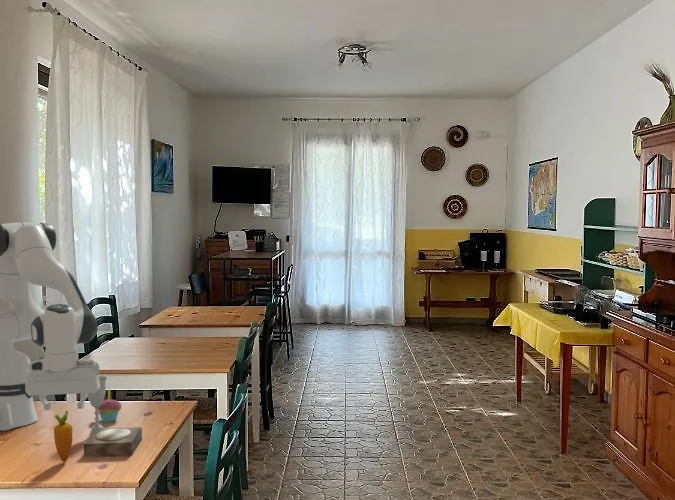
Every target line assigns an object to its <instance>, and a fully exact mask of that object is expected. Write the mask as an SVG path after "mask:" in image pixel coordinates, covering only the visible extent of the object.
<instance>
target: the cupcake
mask: <svg viewBox="0 0 675 500" xmlns="http://www.w3.org/2000/svg"><path fill="white" fill-rule="evenodd" d="M121 409H122V404H121V402H120V401H119V400H116V399H111V389H110V387H108V389H107V399H104V400H103V402H102V404H101V406H99V408H98V410H99V417H100V420H101V421H102V422H103V423H112V422H114V421H115V422H116V420H117V418H118V415H119V412H120V411H121Z"/></svg>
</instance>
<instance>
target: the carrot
mask: <svg viewBox="0 0 675 500" xmlns="http://www.w3.org/2000/svg"><path fill="white" fill-rule="evenodd" d="M68 415H69V411H68V410H65V412H64V414H63V416H62V417H60V416H59V414H55V415H54V418H55V419H56V421H57V422H58V423H57V425H55V427H53V437H54V444H55V448H56V453H57V454H58V456H59V458H60V461H61V462H63V463H66V462H67V461H68V458H69V457H70V453H71V451H72V446H73V445H72V444H73V425H72V424H70V423H69V422H67V420H68Z"/></svg>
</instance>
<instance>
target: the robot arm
mask: <svg viewBox="0 0 675 500" xmlns="http://www.w3.org/2000/svg"><path fill="white" fill-rule="evenodd" d="M57 241H58V240H57V233H56V229H55V228H54V226H53V225H52V224H50V223H45V222H39V223H37V222H29V221H28V222H25V221H23V222H22V221H20V222H8V223H0V300H3V301H4V302H8V303H9V310H2V311H0V431H9V430H12V429H15V428H19V427H25V426H27V425H31V424H33V423H35V422H37V421H38V419H39V417H38V415H37V412H36V409H35V403H34V397H33V396H38V398H39V401H40V402H41V404H42V405H43V410H44V411H49V410H51V409H52V402H49V401H48V400H47V399H46V397H47V396H50V395H52V396H53V395H76V394H80V398H81V399H80V401H78V402H77V404H76V405H77V409H79V410H80V409H84V408H85V401H86V400H87V399H88V397H87V396H88V393H95V392H97V391H98V390H99V388H100V380H99V376H100V375H99V374H100V364H99V363H98V362H96V361H94V360H93V359H91V360H79V349H78V345H77V344H79V345H80V344H88V343H90V341H92V340H93V339H94V338H95V336H96V335H97V334H98V328H99V327H98V322H97V319H96V317H95V315H94V313H93V312H92V310H91V309H90V308H89V306H88V304H87V302H86V299H85V297H84V295H83V293H82V291H81V290H80V287H79V285H78V283H77V281H76V280H75V278H74V276H73V274H72V272H71V270H69V268H67V267H65V266H63V265H62V264H61V263H60V262H59V261H58V260H57V258H56V257H55V255H54V252H53V251H54V249H56V246H57ZM31 284H32V285H35V286H36V285H37V286H40V287H46V288H49V289H52V290H53V289H54V290H55V291H58V292H60V294H62V295H63V296H64V298H65V300H66V303H67V304H64V303H63V304H62V303H57V304H51V305H48V306H47V307H46V308H45V309H43V308H42V307H39V305H37V304H36V302H35V300H34V298H33V296H32V291H31V290H32V289H31ZM26 340H27V341H28V340H31V341H32V342H33V343H34V344H36V345H37V346H39V347H43V348H45V349H44V356H42V357H39V358H37V359H34V360H33V361H31V359H30V357H29V356H28V355H27V354H25V353H24V352H22V351H18V350H17V349H15V347H14V343H16V342H20V341H21V342H22V341H26Z"/></svg>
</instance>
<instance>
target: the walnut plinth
mask: <svg viewBox="0 0 675 500" xmlns="http://www.w3.org/2000/svg"><path fill="white" fill-rule="evenodd" d="M103 428H104V429H96V430H95V431H94V432H93V434H92V435H90V436H89V437H88V438H87V439H86V440H85V442H83V458H97V457H101V458H102V457H123V456H124V457H125V456H133V454H134V453H135V452H136V451H137V448H138V447H139V446H140V444H141V442H142V440H143V430H142V429H143V427H142V426H141V427H140V426H138V427H137V426H136V427H115V428H114V427H110V428H109V427H108V428H107V427H106V428H105V427H103Z"/></svg>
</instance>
